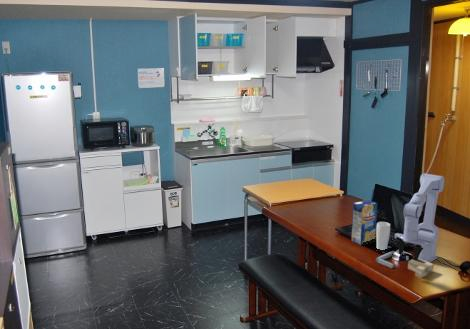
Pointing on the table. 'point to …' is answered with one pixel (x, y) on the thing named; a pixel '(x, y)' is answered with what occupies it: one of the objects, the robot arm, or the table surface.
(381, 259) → the bracket
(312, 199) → the table surface
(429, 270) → the t block
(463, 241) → the table surface
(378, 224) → the drinking glass
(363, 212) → the beverage box
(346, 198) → the table surface
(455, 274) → the table surface
